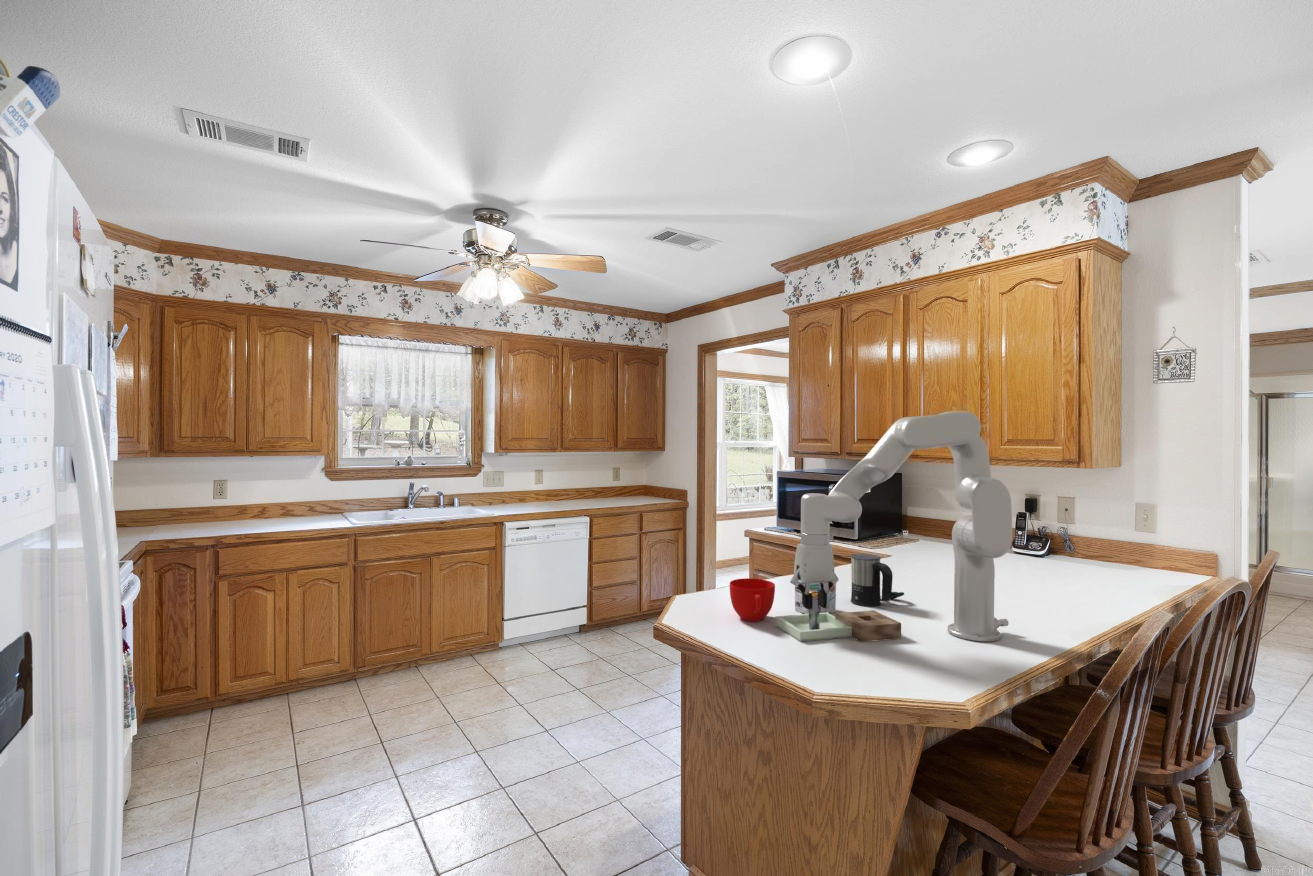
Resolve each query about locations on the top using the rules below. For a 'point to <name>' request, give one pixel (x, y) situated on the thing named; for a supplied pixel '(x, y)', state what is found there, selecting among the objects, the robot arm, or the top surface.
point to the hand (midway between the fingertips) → (814, 606)
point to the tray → (801, 631)
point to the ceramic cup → (752, 598)
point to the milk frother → (870, 580)
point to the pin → (814, 610)
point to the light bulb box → (829, 606)
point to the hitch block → (870, 625)
